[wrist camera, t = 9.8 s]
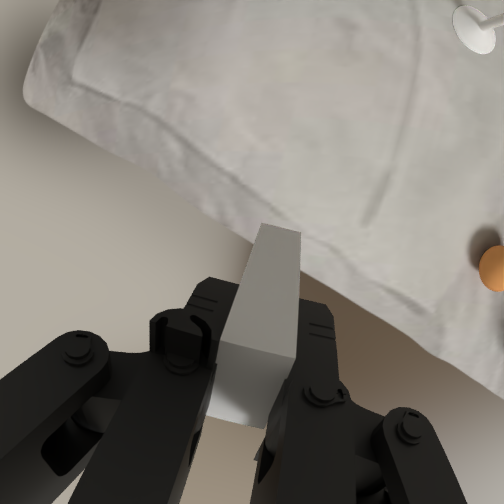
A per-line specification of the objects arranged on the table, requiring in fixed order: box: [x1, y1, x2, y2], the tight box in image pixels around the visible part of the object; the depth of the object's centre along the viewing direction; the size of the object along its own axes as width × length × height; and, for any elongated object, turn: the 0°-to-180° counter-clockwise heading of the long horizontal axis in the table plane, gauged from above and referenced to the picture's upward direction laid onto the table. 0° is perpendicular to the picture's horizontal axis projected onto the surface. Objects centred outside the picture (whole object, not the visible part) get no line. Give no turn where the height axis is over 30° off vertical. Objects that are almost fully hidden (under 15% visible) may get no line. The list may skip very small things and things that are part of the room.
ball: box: [479, 246, 504, 292], centre depth 32 cm, size 6×6×6 cm
